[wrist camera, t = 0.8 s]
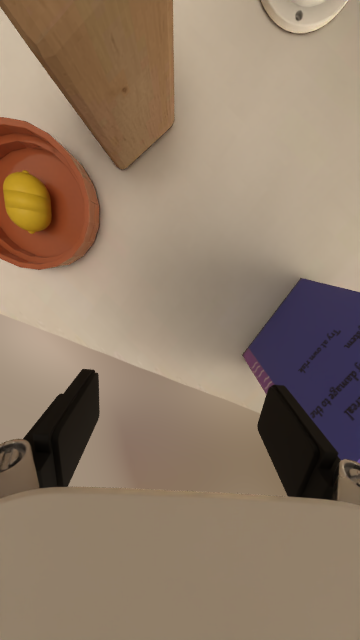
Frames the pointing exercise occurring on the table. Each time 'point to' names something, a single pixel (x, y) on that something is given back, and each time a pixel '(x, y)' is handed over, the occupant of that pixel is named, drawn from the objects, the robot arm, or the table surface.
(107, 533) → the robot arm
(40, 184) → the lemon
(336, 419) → the purple book
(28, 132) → the fruit bowl
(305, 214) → the table surface
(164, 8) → the wooden block
